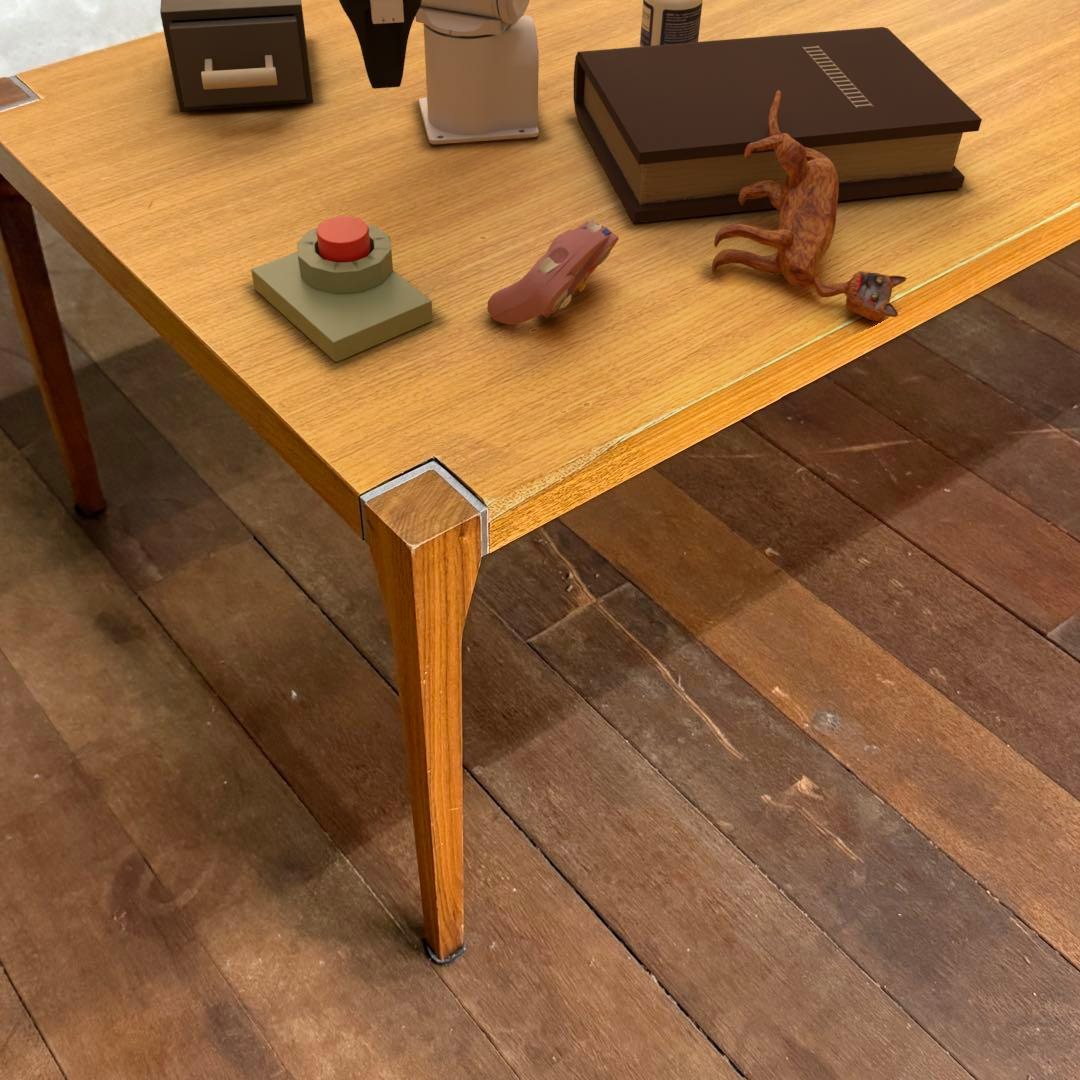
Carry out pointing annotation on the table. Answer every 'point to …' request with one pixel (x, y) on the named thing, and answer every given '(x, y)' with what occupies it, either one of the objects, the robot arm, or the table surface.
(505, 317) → the pink pronged piece
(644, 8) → the pill bottle
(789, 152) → the cat figurine
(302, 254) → the olive button base
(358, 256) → the button
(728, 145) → the book
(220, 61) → the drawer
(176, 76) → the cabinet
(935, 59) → the table surface
